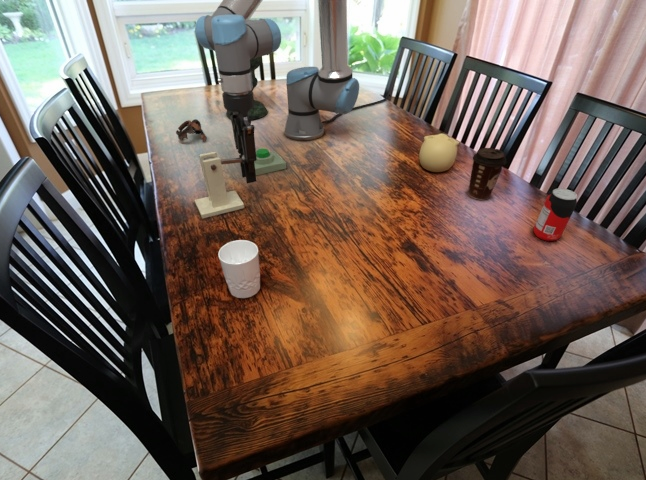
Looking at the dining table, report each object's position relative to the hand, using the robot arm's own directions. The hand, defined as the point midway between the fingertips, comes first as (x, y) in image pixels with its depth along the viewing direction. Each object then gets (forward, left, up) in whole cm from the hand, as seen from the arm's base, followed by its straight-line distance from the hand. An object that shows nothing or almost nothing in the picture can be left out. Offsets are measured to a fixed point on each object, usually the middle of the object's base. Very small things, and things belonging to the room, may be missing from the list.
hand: (249, 178), depth 108 cm
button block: (-10, -18, -6) cm, 22 cm away
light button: (-10, -18, -3) cm, 21 cm away
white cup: (+14, +36, -6) cm, 39 cm away
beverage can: (-60, +52, -6) cm, 80 cm away
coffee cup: (-60, +29, -6) cm, 67 cm away
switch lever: (+5, 0, +5) cm, 7 cm away
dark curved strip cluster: (+6, -52, -6) cm, 53 cm away
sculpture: (-60, +9, -6) cm, 61 cm away
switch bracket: (+10, 0, -6) cm, 11 cm away
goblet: (-21, -70, -6) cm, 73 cm away
